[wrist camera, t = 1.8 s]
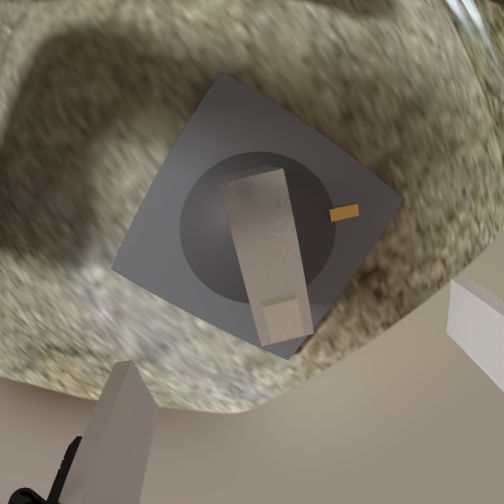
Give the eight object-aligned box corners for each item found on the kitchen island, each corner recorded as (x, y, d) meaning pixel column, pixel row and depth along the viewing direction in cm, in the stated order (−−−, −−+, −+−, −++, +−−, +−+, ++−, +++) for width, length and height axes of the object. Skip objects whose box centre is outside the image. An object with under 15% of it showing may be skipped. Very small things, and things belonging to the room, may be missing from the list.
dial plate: (115, 263, 30) (110, 269, 29) (221, 75, 25) (221, 71, 24) (286, 352, 35) (288, 361, 34) (396, 197, 30) (404, 199, 29)
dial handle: (223, 174, 27) (218, 184, 18) (266, 164, 27) (284, 169, 18) (253, 294, 30) (261, 350, 21) (291, 284, 30) (315, 337, 21)
